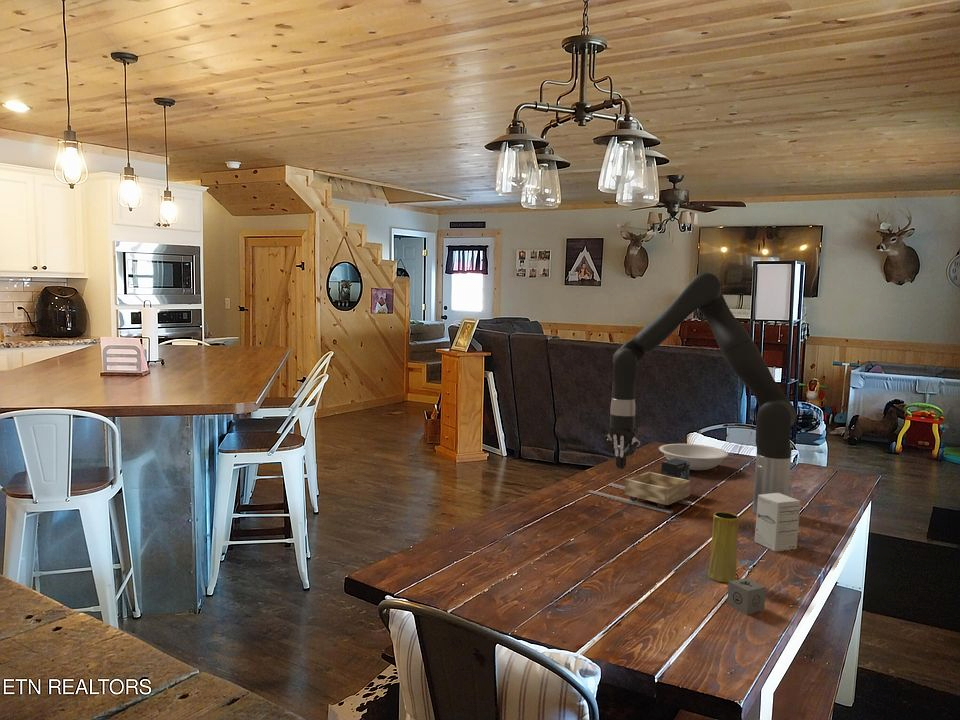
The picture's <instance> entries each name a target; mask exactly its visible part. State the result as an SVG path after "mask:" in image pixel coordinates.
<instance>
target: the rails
mask: <svg viewBox="0 0 960 720" xmlns="http://www.w3.org/2000/svg"><path fill="white" fill-rule="evenodd" d="M608 485H609V486H608V487H610V486H612V487H611V488H614V487H615V489H618V488H619V489H620V490H622V491H623V490H624V491H625V485H620V484H616V483H613V482H610V483H608ZM588 492H589V493H593V494H597V495H600V496H599V497H601V496H604V497H603V498H605V497H607V498H606V499H609V498H611V499H610V500H613V499H614V501H617V500H618V501H617V502H621V503H626V504H631V505H633V506H637V507H640V508H645V509H649V510H653V511H657V512H662V513H664V514H665V513H666V514H670V515H671V514H674V510H673V509H669V508H666V507H663V508H659V507H658V505H657V506H656V505H653V504H649V503H645V502H641V501H637V500H636V501H631V499H630V498H629V499H628V498H624V497H620V496H618V495H617V496H616V495H612V494H608V493H605V492H601V491H597V490H594V489H593V490H592V489H590V490H587V493H588ZM589 493H588V494H589ZM593 494H592V495H593ZM597 495H596V496H597ZM677 502H678V503H677ZM675 503H677V504H681V505H686V506H692V505H693V502H692V501H689V500H685V499H681V500H678V501H676V502H675Z"/></svg>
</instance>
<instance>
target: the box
mask: <svg viewBox="0 0 960 720" xmlns="http://www.w3.org/2000/svg"><path fill="white" fill-rule="evenodd" d="M689 468H690V462H689V461H685V460H681V459H676V458H674V459H670V460H662V462H661V468H660V469H661V471H660V474H662V475H666V476H671V477H676V478H680V479H685V480H689V479H690V470H689Z"/></svg>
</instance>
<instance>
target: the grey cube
mask: <svg viewBox="0 0 960 720" xmlns="http://www.w3.org/2000/svg"><path fill="white" fill-rule="evenodd" d="M727 587H728V589H727V602H726V605H727V606H729V607H731V608H732V609H734V610H736V611H738V612H740V613H743V614H744V615H745V616H746V615H751V614H754V613H756V614H757V613H759V612H764V611H765V607H766V606H765V603H766V592H767V590H766V589H767V587H766V586H765V585H763V584H761V583H759V582H757V581H754V580H752V579H750V578H748V577H743V578H738V579H736V580H733V581H729V583H728V585H727Z"/></svg>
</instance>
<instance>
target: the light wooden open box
mask: <svg viewBox="0 0 960 720" xmlns="http://www.w3.org/2000/svg"><path fill="white" fill-rule="evenodd" d="M624 481H625V482H624V486H625V490H624V495H625V496H627V497H629V500H631V501H637V500H638V499H641V500H644V501H645V500H646V501H650V502H653V503H656V504H657V506H658V507H659V508H665V506H669V505H672V504H673V503H677V502H676V501H678V500H684V499H685V498H688V497H690V495H691V482H692V481H691V480H685V479H680V478H676V477H671V476H666V475H662V474H661V473H656V472H652V471H646V472H644V473H641V474H638V475H635V476H631V477H629V478H626V479H625V480H624Z"/></svg>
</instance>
